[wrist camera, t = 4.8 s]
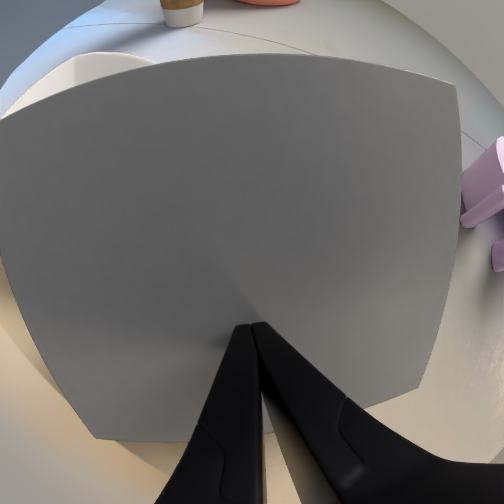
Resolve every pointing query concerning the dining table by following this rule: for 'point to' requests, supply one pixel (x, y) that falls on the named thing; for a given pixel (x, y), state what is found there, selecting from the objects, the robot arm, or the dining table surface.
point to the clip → (485, 193)
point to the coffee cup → (182, 12)
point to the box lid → (230, 228)
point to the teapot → (269, 2)
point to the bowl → (78, 74)
